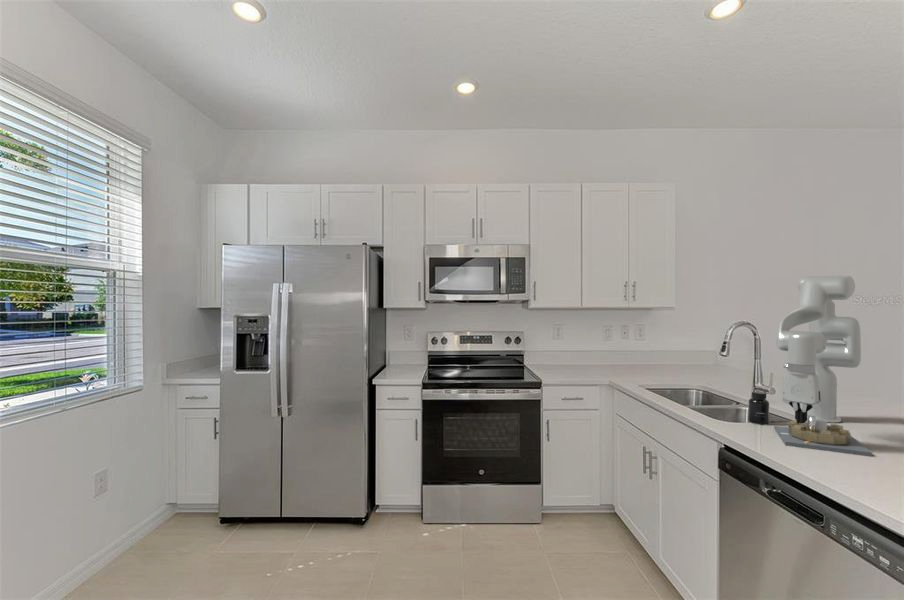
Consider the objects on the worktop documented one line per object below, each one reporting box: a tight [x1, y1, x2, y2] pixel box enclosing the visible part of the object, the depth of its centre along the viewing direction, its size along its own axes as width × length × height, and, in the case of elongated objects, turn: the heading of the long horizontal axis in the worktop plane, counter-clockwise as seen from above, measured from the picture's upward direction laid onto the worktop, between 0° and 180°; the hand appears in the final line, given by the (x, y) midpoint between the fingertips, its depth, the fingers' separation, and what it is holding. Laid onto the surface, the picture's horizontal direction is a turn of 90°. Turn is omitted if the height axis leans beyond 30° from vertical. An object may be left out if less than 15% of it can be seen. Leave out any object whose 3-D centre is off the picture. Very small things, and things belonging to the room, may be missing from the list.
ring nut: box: [788, 416, 851, 445], centre depth 156 cm, size 16×16×8 cm
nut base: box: [773, 420, 873, 457], centre depth 156 cm, size 22×22×7 cm
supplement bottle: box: [747, 391, 770, 426], centre depth 180 cm, size 7×7×12 cm
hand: (801, 422), depth 155 cm, fingers closed
